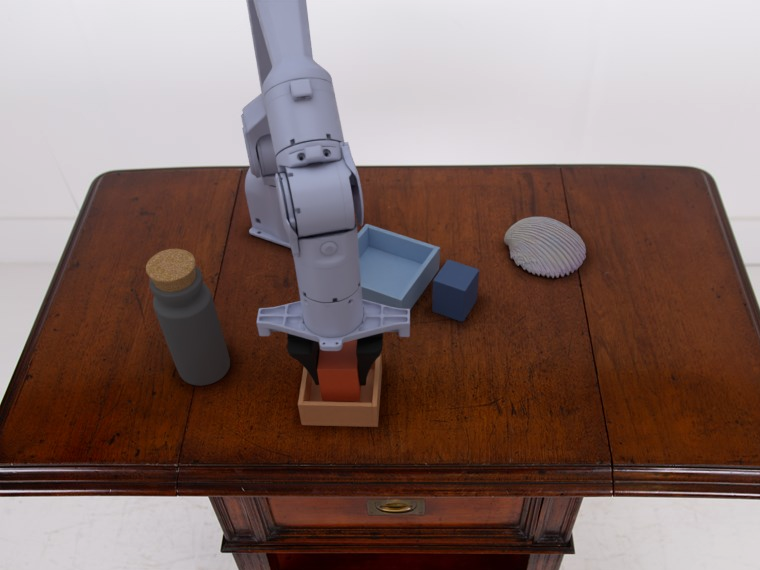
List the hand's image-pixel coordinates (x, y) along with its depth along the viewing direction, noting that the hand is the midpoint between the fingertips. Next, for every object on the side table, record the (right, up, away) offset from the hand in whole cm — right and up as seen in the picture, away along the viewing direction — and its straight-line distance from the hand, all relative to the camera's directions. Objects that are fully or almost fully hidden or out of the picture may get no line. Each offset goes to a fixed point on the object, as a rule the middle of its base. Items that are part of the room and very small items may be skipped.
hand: (340, 377), depth 79 cm
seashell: (+24, +16, +17) cm, 34 cm away
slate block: (+13, +9, +11) cm, 19 cm away
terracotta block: (0, -1, +1) cm, 1 cm away
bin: (+4, +12, +13) cm, 19 cm away
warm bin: (0, -2, +2) cm, 3 cm away
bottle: (-16, +1, +6) cm, 17 cm away
